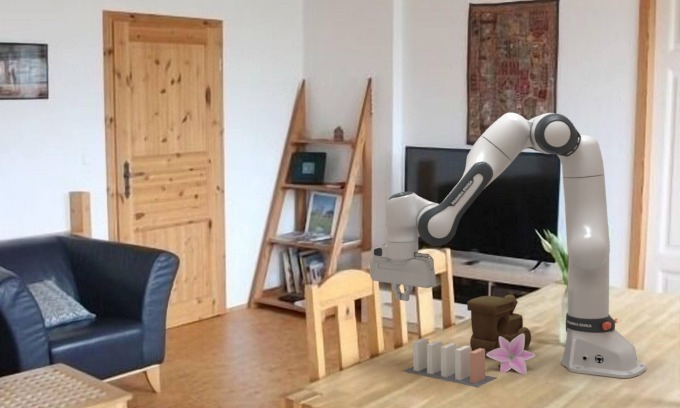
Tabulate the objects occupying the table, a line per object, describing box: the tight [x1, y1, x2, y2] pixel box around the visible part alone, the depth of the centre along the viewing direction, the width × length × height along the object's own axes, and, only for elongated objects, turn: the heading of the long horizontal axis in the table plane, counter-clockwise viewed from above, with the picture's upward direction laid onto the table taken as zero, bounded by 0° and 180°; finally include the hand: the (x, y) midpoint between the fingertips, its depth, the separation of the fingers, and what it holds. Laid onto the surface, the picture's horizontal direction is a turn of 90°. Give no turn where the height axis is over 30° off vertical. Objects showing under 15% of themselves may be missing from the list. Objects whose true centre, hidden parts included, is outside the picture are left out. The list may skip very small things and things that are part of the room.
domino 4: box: [455, 345, 471, 380], centre depth 246 cm, size 2×5×8 cm, turn 140°
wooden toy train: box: [466, 294, 532, 353], centre depth 271 cm, size 20×11×17 cm, turn 138°
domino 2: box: [427, 339, 443, 374], centre depth 252 cm, size 2×5×8 cm, turn 140°
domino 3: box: [441, 342, 457, 377], centre depth 249 cm, size 2×5×8 cm, turn 140°
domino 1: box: [412, 337, 430, 371], centre depth 255 cm, size 2×5×8 cm, turn 140°
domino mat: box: [402, 365, 497, 388], centre depth 249 cm, size 24×10×1 cm, turn 50°
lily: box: [485, 333, 536, 375], centre depth 253 cm, size 12×12×10 cm
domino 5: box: [470, 348, 486, 383], centre depth 243 cm, size 2×5×8 cm, turn 140°
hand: (402, 300), depth 257 cm, fingers closed
